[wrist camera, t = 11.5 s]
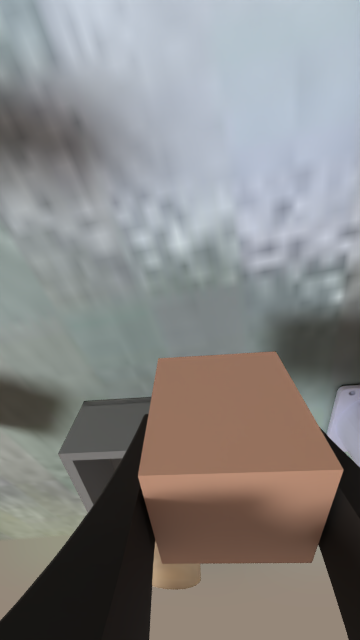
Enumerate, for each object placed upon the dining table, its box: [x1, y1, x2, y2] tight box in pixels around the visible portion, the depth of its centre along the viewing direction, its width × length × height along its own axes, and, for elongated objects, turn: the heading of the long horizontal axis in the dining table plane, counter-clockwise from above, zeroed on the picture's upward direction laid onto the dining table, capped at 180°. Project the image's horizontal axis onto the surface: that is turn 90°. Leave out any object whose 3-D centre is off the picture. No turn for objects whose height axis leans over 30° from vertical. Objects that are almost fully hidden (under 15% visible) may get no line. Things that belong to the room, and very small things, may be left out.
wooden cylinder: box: [152, 540, 201, 589], centre depth 23 cm, size 5×5×7 cm
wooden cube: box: [138, 352, 343, 564], centre depth 9 cm, size 5×5×5 cm
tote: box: [58, 397, 152, 512], centre depth 23 cm, size 14×18×5 cm
